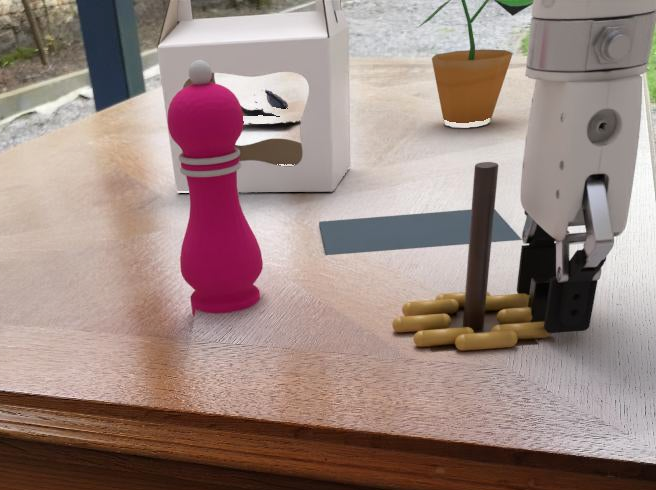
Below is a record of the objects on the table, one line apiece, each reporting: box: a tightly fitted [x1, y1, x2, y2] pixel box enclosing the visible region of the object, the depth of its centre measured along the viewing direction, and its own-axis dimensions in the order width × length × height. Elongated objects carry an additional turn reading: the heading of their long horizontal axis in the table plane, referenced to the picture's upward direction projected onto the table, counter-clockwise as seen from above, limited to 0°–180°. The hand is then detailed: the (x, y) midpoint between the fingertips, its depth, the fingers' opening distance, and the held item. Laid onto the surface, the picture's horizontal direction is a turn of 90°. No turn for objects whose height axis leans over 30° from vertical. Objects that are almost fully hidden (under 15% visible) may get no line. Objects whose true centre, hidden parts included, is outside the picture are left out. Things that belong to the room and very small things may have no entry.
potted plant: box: [418, 0, 533, 123], centre depth 121 cm, size 18×19×30 cm
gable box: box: [156, 0, 351, 193], centre depth 101 cm, size 22×13×28 cm, turn 76°
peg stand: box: [428, 161, 539, 353], centre depth 58 cm, size 8×8×13 cm
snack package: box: [241, 89, 289, 117], centre depth 140 cm, size 12×6×12 cm
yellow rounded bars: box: [391, 276, 556, 351], centre depth 61 cm, size 14×9×3 cm
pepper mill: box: [166, 60, 264, 317], centre depth 65 cm, size 7×7×20 cm
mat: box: [318, 208, 522, 256], centre depth 82 cm, size 20×18×1 cm
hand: (550, 309), depth 61 cm, fingers closed on yellow rounded bars, 6 cm apart
